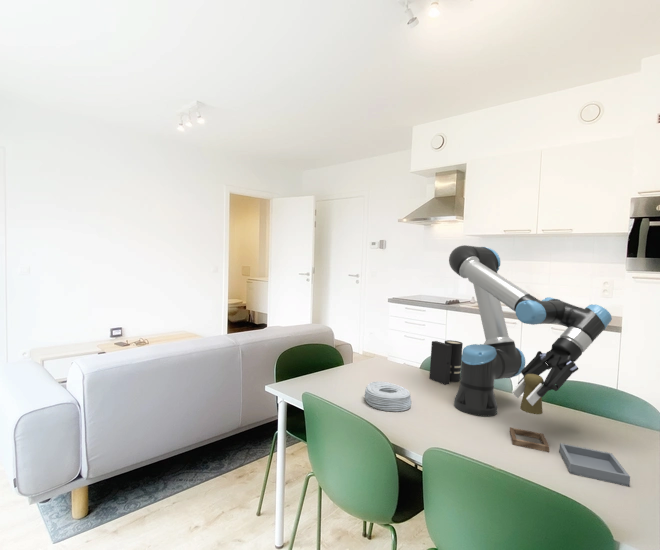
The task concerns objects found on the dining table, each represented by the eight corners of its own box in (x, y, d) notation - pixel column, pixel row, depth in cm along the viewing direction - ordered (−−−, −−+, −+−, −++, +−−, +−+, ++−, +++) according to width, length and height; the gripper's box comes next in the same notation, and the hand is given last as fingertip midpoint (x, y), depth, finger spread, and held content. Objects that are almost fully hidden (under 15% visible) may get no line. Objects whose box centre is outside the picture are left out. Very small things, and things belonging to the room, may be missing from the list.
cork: (515, 406, 114) (518, 371, 114) (534, 406, 115) (537, 372, 114) (528, 414, 108) (531, 377, 108) (547, 414, 109) (550, 378, 108)
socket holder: (512, 444, 109) (512, 439, 109) (509, 431, 118) (509, 427, 118) (548, 452, 106) (549, 447, 106) (542, 438, 114) (543, 433, 114)
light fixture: (465, 381, 170) (467, 343, 170) (445, 385, 163) (448, 345, 163) (448, 375, 179) (450, 339, 178) (428, 378, 171) (431, 341, 171)
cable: (366, 393, 147) (367, 378, 147) (410, 398, 144) (411, 383, 144) (361, 409, 130) (362, 392, 130) (411, 416, 127) (412, 398, 127)
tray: (570, 473, 95) (570, 463, 95) (559, 451, 106) (559, 442, 106) (629, 486, 90) (630, 476, 90) (611, 462, 102) (611, 453, 102)
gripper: (604, 361, 105) (553, 419, 102) (552, 346, 123) (507, 395, 120) (591, 343, 104) (539, 401, 101) (541, 330, 122) (494, 379, 118)
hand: (522, 398), depth 110 cm, fingers closed on cork, 5 cm apart
